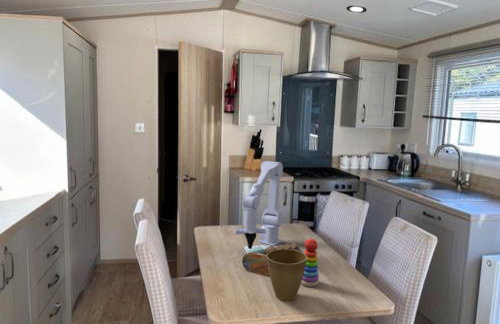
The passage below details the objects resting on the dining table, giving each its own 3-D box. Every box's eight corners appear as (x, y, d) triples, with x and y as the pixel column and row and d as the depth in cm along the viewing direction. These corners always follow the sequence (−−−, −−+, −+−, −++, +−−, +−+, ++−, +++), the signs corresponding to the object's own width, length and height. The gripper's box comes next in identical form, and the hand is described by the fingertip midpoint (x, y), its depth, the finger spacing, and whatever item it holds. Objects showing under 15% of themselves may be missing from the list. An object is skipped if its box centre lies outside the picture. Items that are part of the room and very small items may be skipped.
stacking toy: (295, 282, 154) (296, 238, 152) (308, 277, 159) (310, 234, 157) (309, 289, 148) (312, 243, 146) (322, 283, 153) (325, 239, 151)
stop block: (295, 257, 181) (296, 251, 181) (291, 251, 188) (292, 246, 188) (301, 256, 182) (302, 251, 181) (297, 251, 189) (297, 246, 188)
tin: (241, 270, 165) (242, 251, 164) (245, 267, 168) (245, 249, 167) (273, 277, 158) (273, 258, 157) (276, 274, 161) (276, 256, 160)
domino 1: (250, 255, 179) (263, 249, 181) (247, 251, 183) (260, 245, 185) (251, 257, 179) (264, 252, 181) (248, 254, 183) (260, 248, 185)
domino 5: (285, 254, 181) (297, 245, 182) (283, 250, 186) (294, 242, 187) (287, 256, 182) (299, 248, 182) (285, 253, 186) (296, 244, 187)
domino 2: (261, 254, 179) (275, 248, 180) (259, 251, 184) (272, 244, 185) (263, 257, 180) (276, 251, 180) (261, 254, 184) (274, 247, 185)
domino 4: (278, 254, 181) (290, 246, 181) (275, 250, 185) (287, 243, 186) (279, 257, 181) (292, 249, 182) (277, 253, 186) (289, 245, 186)
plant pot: (280, 284, 152) (281, 245, 150) (312, 295, 143) (314, 255, 141) (257, 297, 141) (258, 255, 139) (290, 310, 131) (292, 267, 129)
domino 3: (270, 254, 180) (283, 247, 181) (268, 250, 185) (280, 244, 185) (271, 257, 180) (284, 250, 181) (269, 253, 185) (281, 247, 186)
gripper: (236, 223, 174) (236, 251, 175) (267, 222, 176) (266, 250, 178) (234, 219, 181) (234, 246, 182) (264, 218, 183) (263, 245, 185)
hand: (249, 248), depth 180 cm, fingers closed
